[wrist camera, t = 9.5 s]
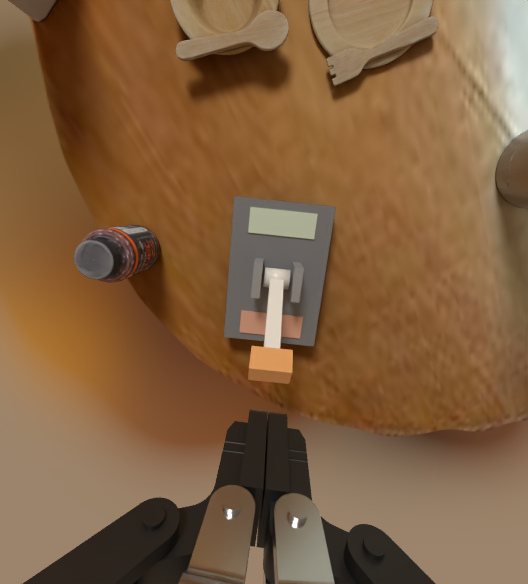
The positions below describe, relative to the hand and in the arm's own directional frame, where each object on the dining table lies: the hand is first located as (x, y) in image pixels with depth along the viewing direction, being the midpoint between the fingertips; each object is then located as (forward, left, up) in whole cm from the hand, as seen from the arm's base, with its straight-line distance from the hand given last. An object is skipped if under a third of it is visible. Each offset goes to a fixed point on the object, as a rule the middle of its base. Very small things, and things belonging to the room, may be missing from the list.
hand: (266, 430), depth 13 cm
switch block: (-1, 0, -31) cm, 31 cm away
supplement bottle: (+17, -5, -31) cm, 36 cm away
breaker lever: (-1, -1, -28) cm, 28 cm away
